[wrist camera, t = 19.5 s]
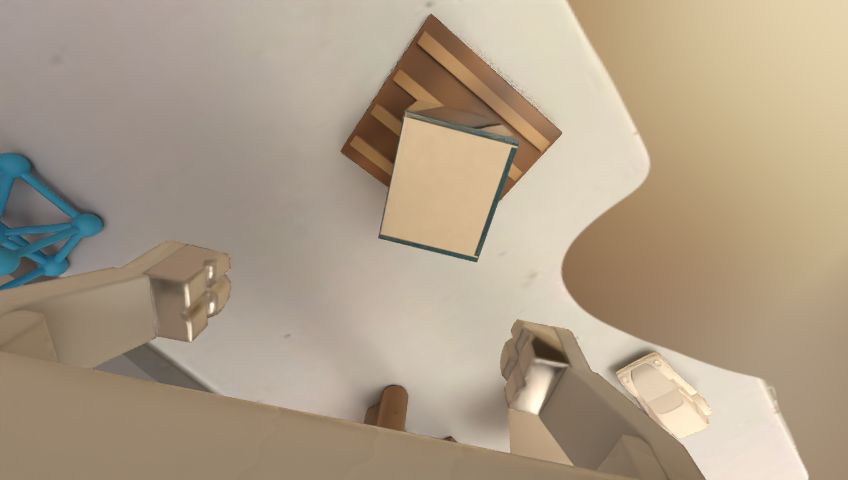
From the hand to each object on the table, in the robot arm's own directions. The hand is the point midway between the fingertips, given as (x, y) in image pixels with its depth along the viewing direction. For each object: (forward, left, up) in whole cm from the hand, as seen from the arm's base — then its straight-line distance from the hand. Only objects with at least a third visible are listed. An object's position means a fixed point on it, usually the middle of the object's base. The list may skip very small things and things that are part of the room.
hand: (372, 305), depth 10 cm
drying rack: (+1, +2, -24) cm, 24 cm away
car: (+38, -5, -24) cm, 45 cm away
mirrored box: (+3, -3, -17) cm, 18 cm away
